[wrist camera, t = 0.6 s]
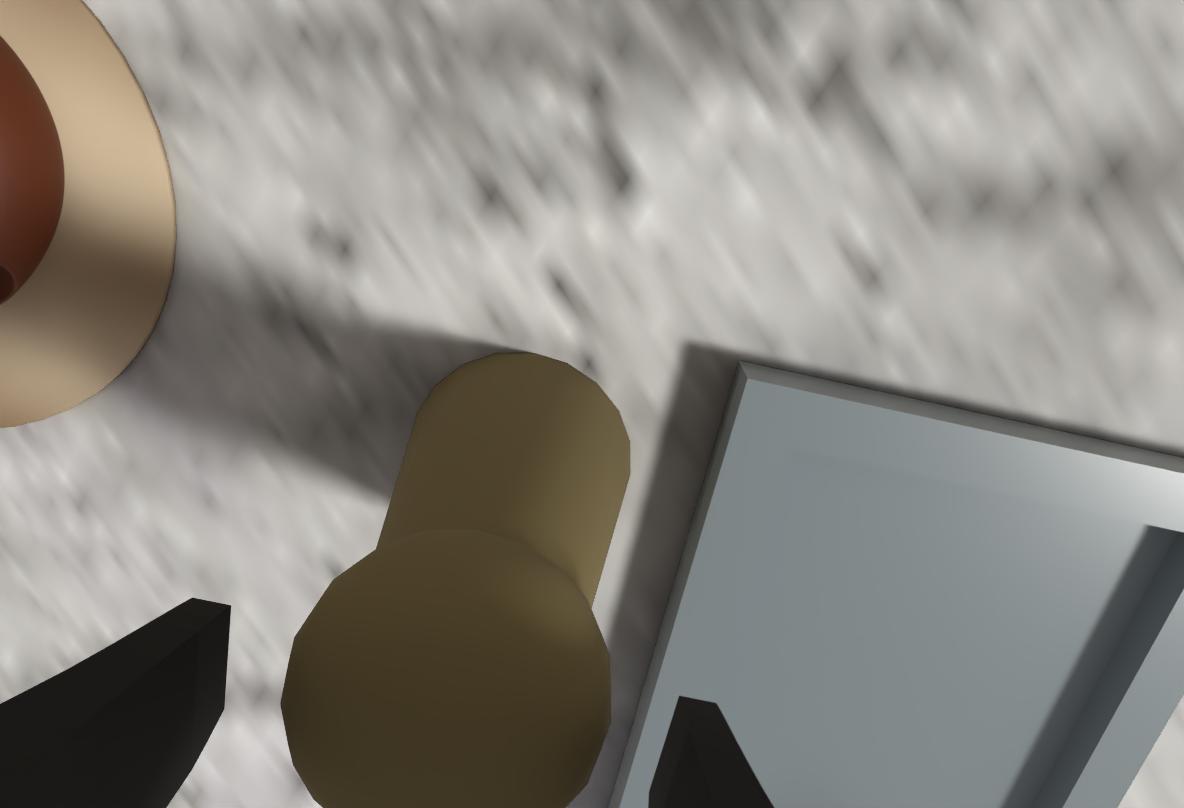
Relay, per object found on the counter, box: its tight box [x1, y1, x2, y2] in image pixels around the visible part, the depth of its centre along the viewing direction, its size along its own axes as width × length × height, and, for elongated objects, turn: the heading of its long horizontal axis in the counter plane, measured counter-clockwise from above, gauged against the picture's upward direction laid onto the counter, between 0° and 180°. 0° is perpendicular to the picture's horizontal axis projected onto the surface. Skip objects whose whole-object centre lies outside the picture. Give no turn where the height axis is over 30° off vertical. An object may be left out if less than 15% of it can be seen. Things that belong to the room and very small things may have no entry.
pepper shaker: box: [280, 353, 630, 808], centre depth 16 cm, size 6×6×11 cm
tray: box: [608, 361, 1184, 808], centre depth 23 cm, size 20×14×2 cm
